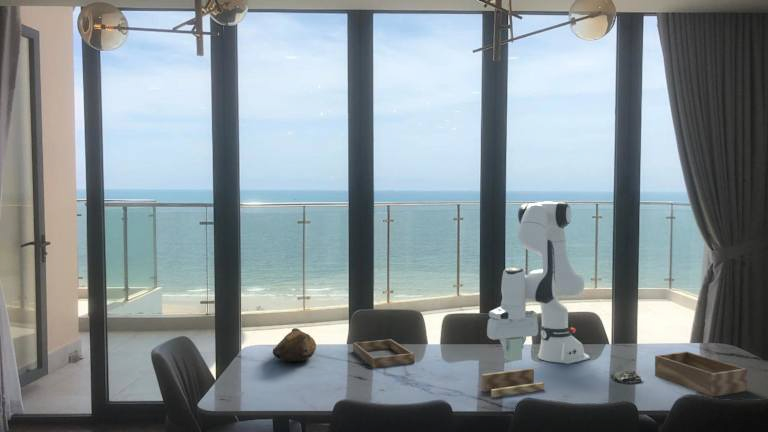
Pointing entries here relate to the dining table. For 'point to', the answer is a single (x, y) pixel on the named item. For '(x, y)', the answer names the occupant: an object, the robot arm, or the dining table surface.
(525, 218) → the robot arm
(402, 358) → the rectangular wooden frame
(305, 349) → the brown rough lump
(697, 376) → the open wooden box
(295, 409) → the dining table surface
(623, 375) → the mottled grey lump
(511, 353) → the cabinet block
